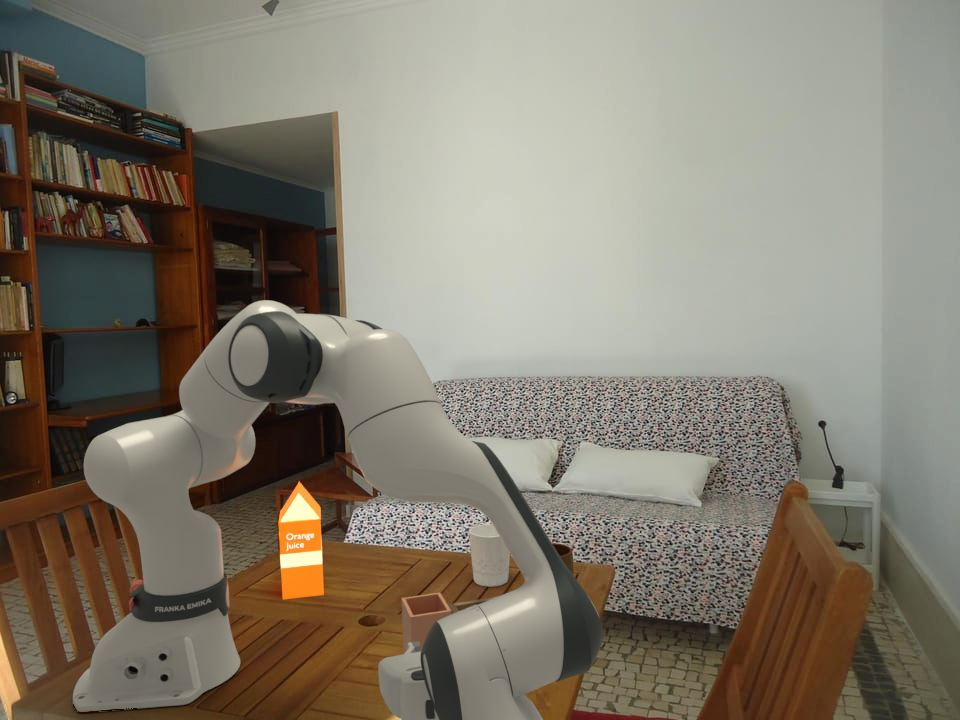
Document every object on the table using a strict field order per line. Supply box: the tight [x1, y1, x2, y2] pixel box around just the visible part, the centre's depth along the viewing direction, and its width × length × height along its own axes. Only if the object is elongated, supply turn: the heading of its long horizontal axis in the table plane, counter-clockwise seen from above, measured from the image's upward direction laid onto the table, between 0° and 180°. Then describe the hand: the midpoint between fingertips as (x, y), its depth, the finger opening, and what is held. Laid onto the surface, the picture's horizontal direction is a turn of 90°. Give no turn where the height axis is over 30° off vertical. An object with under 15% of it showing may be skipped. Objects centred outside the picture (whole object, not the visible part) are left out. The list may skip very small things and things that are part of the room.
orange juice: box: [277, 481, 325, 600], centre depth 139 cm, size 8×9×20 cm
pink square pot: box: [400, 592, 452, 654], centre depth 108 cm, size 6×7×10 cm
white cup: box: [468, 523, 511, 588], centre depth 141 cm, size 8×8×10 cm
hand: (448, 640), depth 95 cm, fingers open, 8 cm apart
